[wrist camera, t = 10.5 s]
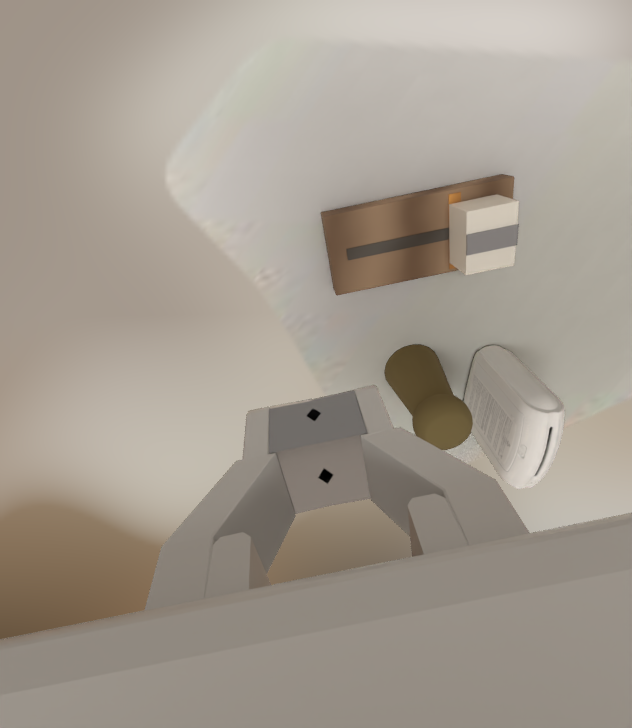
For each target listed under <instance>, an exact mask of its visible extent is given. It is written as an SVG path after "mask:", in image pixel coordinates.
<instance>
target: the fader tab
mask: <svg viewBox="0 0 632 728" xmlns="http://www.w3.org/2000/svg"><path fill="white" fill-rule="evenodd" d="M518 208H519V201H517V200H514V199H511V198H507V197H504V196H501V195H497V194H496V195H491V196H486V197H481V198H477V199H472V200H467V201H462V202H458V203H453V204H449V249H450V264H452V265H453V266H454V267H456V268H457V269H458V270H460V271H461V272H462V273H464V274H465V275H470V274H474V273H479V272H484V271H489V270H494V269H498V268H503V267H508V266H513V265H514V261H515V248H516V245H517V239H518V227H519V224H517V221H518Z"/></svg>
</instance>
